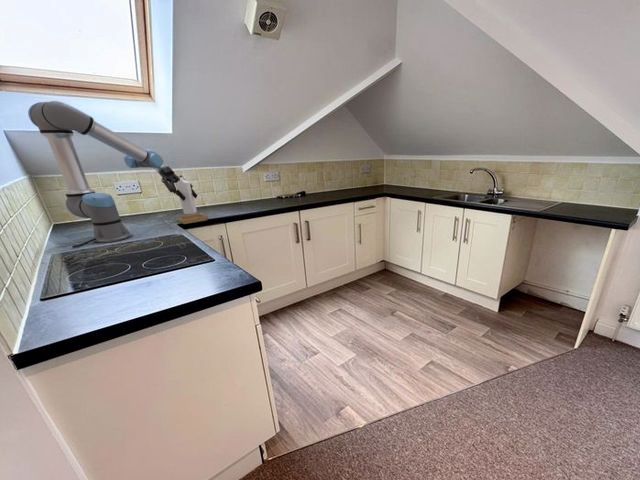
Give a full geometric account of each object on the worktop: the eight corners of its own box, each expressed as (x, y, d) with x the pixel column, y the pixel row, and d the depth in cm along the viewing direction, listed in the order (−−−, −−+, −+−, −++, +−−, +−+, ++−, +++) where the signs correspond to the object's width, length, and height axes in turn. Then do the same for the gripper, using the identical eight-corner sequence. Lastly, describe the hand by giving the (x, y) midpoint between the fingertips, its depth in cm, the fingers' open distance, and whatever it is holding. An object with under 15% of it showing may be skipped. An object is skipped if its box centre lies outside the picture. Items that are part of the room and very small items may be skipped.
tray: (184, 224, 186) (182, 220, 185) (177, 221, 194) (176, 217, 193) (207, 220, 195) (206, 216, 194) (200, 217, 204) (199, 213, 203)
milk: (184, 214, 190) (173, 178, 180) (187, 212, 195) (177, 177, 186) (194, 213, 191) (184, 177, 181) (197, 211, 196) (188, 176, 187)
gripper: (177, 173, 197) (202, 199, 199) (146, 177, 179) (173, 205, 181) (181, 165, 193) (206, 191, 195) (150, 167, 175) (177, 196, 177)
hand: (190, 197), depth 188 cm, fingers closed on milk, 8 cm apart
